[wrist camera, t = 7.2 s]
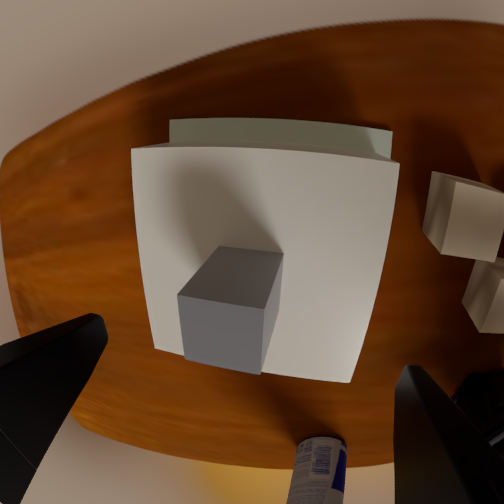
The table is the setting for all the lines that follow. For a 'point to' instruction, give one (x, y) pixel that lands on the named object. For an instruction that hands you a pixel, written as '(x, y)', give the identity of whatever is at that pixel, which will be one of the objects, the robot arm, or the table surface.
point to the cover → (262, 251)
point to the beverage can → (319, 472)
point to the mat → (283, 132)
